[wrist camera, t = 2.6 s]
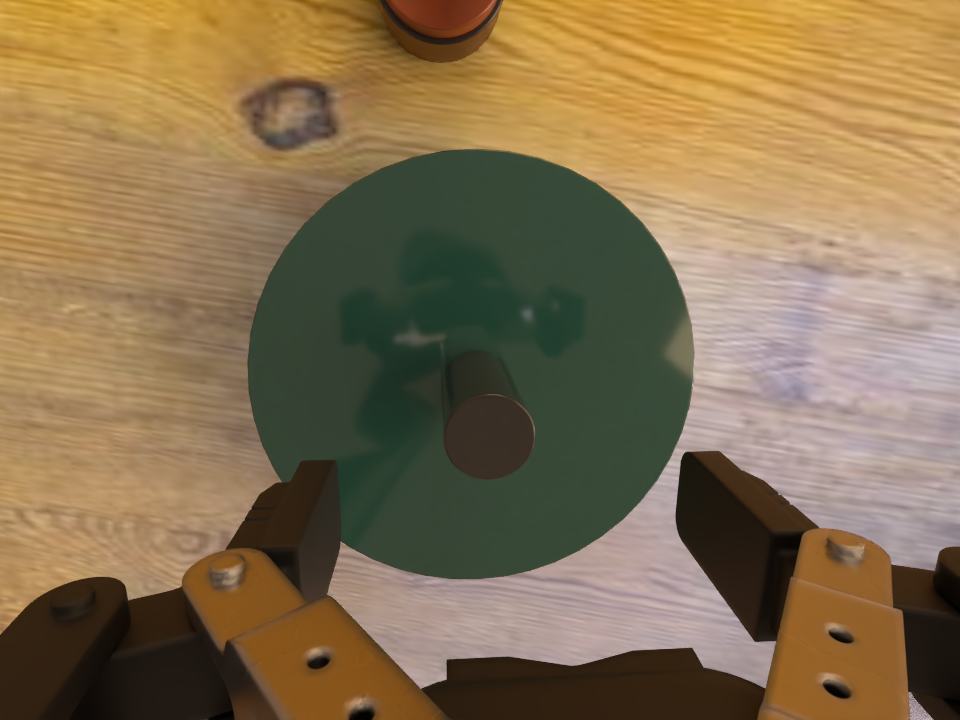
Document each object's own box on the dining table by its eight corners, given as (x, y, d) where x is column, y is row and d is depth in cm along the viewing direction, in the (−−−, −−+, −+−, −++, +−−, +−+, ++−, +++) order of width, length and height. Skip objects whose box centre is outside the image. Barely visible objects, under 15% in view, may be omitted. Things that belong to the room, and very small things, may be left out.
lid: (277, 570, 24) (224, 693, 18) (234, 150, 20) (145, 126, 14) (664, 553, 25) (737, 663, 19) (700, 153, 21) (808, 131, 15)
